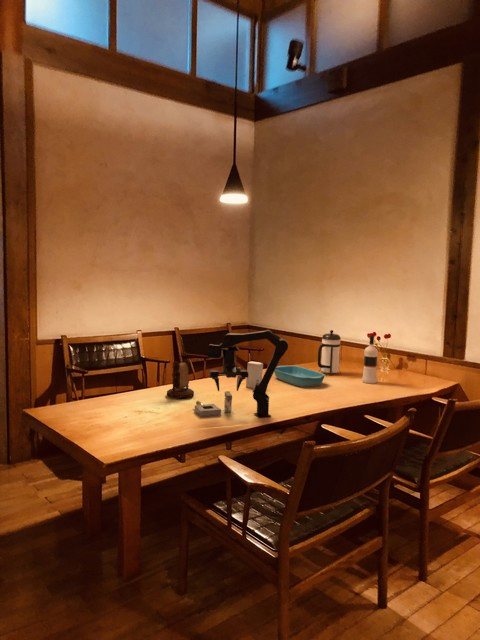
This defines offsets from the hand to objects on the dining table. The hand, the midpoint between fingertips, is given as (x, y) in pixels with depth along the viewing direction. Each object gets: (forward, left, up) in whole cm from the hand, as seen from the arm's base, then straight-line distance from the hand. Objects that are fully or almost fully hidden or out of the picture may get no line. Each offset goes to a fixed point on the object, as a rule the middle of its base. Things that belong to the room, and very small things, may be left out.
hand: (227, 391), depth 252 cm
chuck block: (+6, +10, -11) cm, 16 cm away
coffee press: (+68, -100, -11) cm, 122 cm away
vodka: (+39, -112, -11) cm, 119 cm away
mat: (0, 0, -11) cm, 11 cm away
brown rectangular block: (0, 0, -11) cm, 11 cm away
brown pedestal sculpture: (+38, +13, -11) cm, 42 cm away
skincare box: (+47, -35, -11) cm, 60 cm away
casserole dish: (+53, -68, -12) cm, 87 cm away
